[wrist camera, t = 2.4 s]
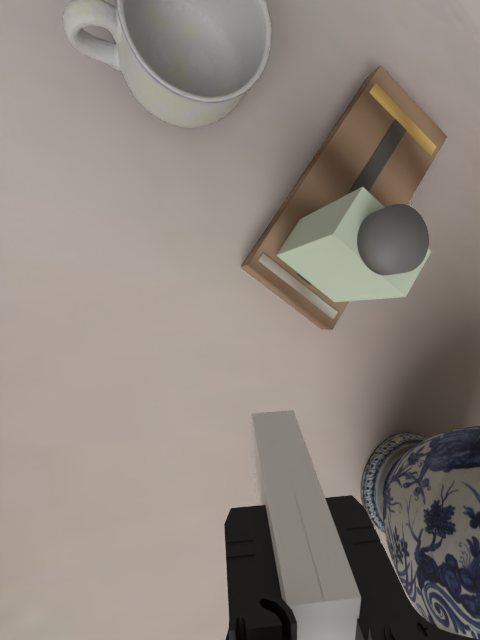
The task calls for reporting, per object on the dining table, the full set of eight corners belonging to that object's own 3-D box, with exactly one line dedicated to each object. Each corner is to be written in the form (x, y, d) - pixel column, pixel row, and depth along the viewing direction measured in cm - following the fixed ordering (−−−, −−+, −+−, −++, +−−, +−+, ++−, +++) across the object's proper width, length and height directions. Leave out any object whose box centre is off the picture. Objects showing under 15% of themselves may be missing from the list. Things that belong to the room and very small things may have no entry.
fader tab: (333, 304, 36) (421, 298, 26) (274, 257, 34) (345, 231, 24) (356, 265, 36) (451, 244, 26) (300, 217, 34) (380, 175, 24)
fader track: (321, 328, 38) (333, 329, 36) (240, 267, 35) (248, 264, 33) (431, 144, 42) (448, 136, 40) (367, 77, 40) (381, 64, 38)
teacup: (241, 36, 35) (277, -41, 28) (236, 156, 35) (271, 111, 28) (74, -11, 31) (63, -118, 23) (68, 125, 31) (55, 62, 23)
